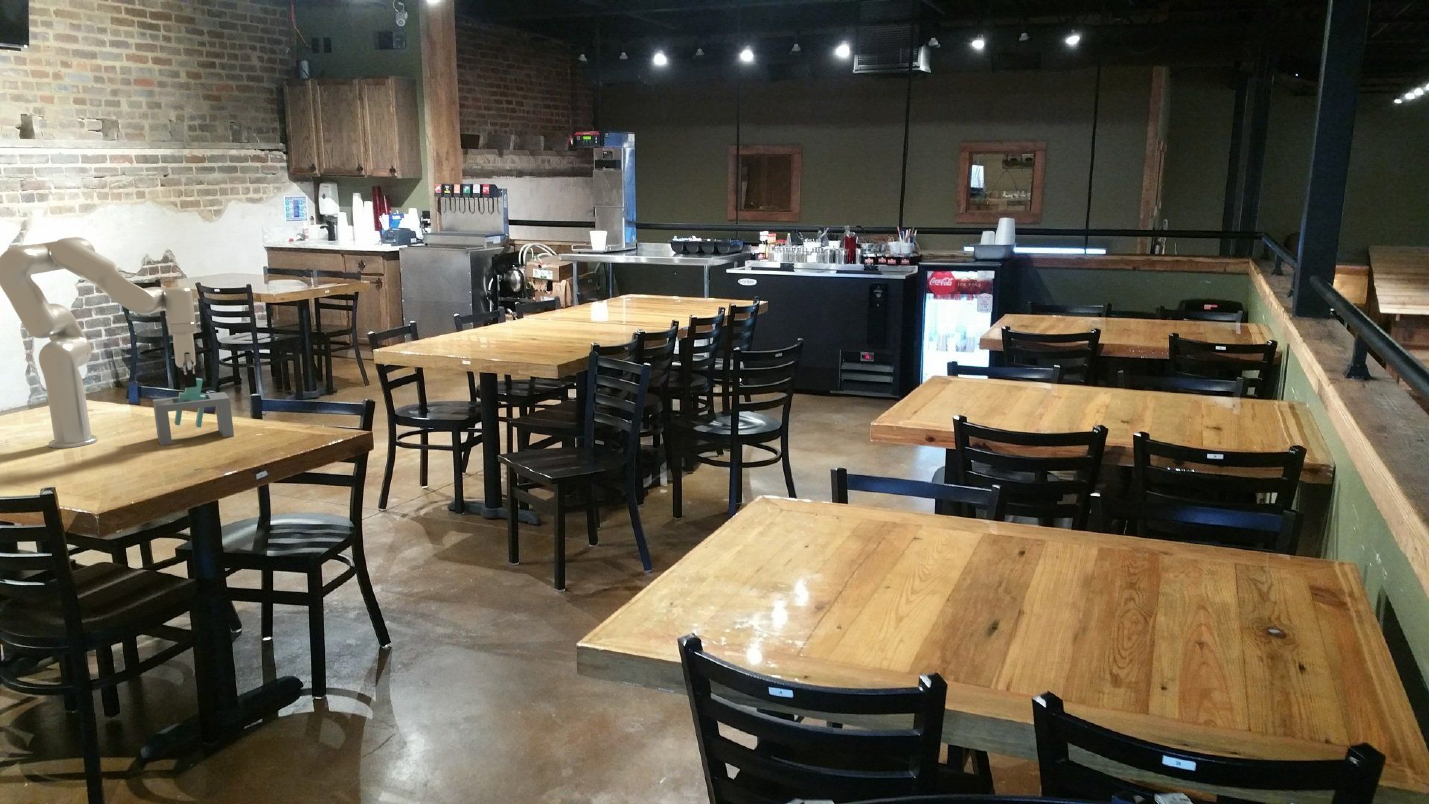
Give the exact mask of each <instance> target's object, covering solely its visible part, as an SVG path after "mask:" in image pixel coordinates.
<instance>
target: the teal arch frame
mask: <svg viewBox="0 0 1429 804" xmlns="http://www.w3.org/2000/svg"><path fill="white" fill-rule="evenodd" d="M203 381H204V380H203V379H202V378H198V377H196V382H197V387H190V388H186V387H185V390H184V392H181V391H180V392H178V396H177V397H178V403H179V402H184V400H192V401H198V400H205V399H206V397H205V395H201V394H202V393H201V391H202V388H203V386H202V385H203ZM204 410H205V407H204V408H197V413H196V420H195V427H196V428H202V424H203V416H204ZM182 413H183V410H178V411H176V412H175V417H174V424H175V426H180V425H181V420H182V416H183V415H182Z"/></svg>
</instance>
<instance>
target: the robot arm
mask: <svg viewBox="0 0 1429 804" xmlns="http://www.w3.org/2000/svg"><path fill="white" fill-rule="evenodd" d="M58 270H60V271H61V270H66V271H69V272H71V273H72V274H74V275H76V276H78V277H80V278H81V279H83V280H85V281H87V282H89V283H90V284H92V285H94V286H95V287H97V288H98V289H99V290H100V291H101V292H102V293H103V294H104V295H106V297H108V298H109V299H110V300H112V301H113V302H115V303H116V304H118V305H120V306H122V307H124V309H127V310H129V311H131V312H133V313H135V314H137V315H142V316H148V315H152V314H155V313H158V312H163V311H165V313H166V319H167V320H166V321H167V329H168V335H170V336H172V342H173V351H174V352H173V353H174V361H175V362H174V363H175V365H176V367H178V368H180V378H181V383H182V384H184V387H185V388H190V387H197V382H196V378H197V376H196V374H197V373H196V371H195V366H196V362H197V361H196V350H195V341H194V334H196V333H198V331H197V330H198V329H197V322H196V314H195V305H194V297H193V291H192V289H191V288H190V287H187V286H175V287H160V286H151V287H150V286H149V287H145V288H142V287H141V286H139V285H136V284H135V283H133V282H132V281H130V280H128V279H126V278H125V277H124V276H123V275H121V273H120V272H119V270H118V266H117V264H116V263H115V262H114V261H112V260H111V259H109V258H107V257H105V256H103V255H102V254H100V253H98V252H96V249H95V247H94V245H93V244H92V243H91V242H90V241H89V240H87V239H86V238H83V237H78V236H73V237H65V238H60V239H57V240H55V241H50V242H43V243H42V242H41V243H34V244H26V245H23V244H22V245H16V246H14V247H13V246H12V247H11V248H8V249H7V250H5V251H4V252H3V253H2V254H0V287H1V289H2V291H3V292H4V294H5V295H6V297H7V299H8V300H9V302H10V304H11V305H12V308H13V309H14V311H15V313H16V314H17V316H18V318H19V320H20V321H21V323H22V325H23V327H24V328H25V330H26V331H27V333H28V334H29V335H30V336H31V337H33V338H35V339H49V340H50V341H49V342H48V343H46V344H44V346H42V348H41V349H40V351H39V353H38V363H39V366H40V369H41V372H42V375H43V380H44V384H45V389H46V395H47V400H48V408H49V413H50V420H51V421H50V422H51V425H52V426H51V427H52V432H53V433H52V434H53V439H52V440H50V441H49V442H48V446H49V447H50V448H53V449H67V448H70V449H71V448H78V447H83V446H88V445H91V444H94V443H97V442H98V441H99V439H98V436H97V435H93V434H92V431H91V426H90V420H89V418H90V417H89V413H88V412H89V411H88V406H87V405H88V404H87V397H86V392H85V385H84V381H83V377H82V375H81V373H80V370H79V367H82V366H84V365H86V364H87V363H88V362H89V361H90V359H91V358H92V354H93V353H92V347H91V344H90V342H89V340H88V338H87V336H86V334H85V332H84V331H83V329H82V328H81V326H80V324H79V322H78V321H77V319H76V317H75V316H74V314H73V313H72V311H71V310H70V309H68V308H67V307H65V305H62V304H59V303H50V302H49V301H48V300H47V297H46V296H45V295H44V293H43V290H42V288H40V286H39V285H38V284H37V283H36V282H35V281H34V280H33V278H32V275H34V274H35V275H36V274H42V273H48V272H52V271H54V272H55V271H58Z"/></svg>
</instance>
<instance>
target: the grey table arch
mask: <svg viewBox="0 0 1429 804" xmlns="http://www.w3.org/2000/svg"><path fill="white" fill-rule="evenodd" d="M200 395H205V397H206V399H205V400H198V401H192V400H184V402H179V403H178V397H179V396H174V397H166V398H165V397H164V398H155V399H152V404H153V412H154V413H153V414H154V420H155V421H154V422H155V427H156V435H157V439H158V442H159V444H160V446H169V445H173V440H172V439H173V438H172V433H171V432H172V431H171V425H170V416H169V412H175V411H178V410H182V411H184V410H185V411H186V410H193V409H198V408H204V409H205V408H212V407H215V413H216V421H217V422H216V423H217V429H218V432H219V433H220V435H221V436H222V437H223V438H224V439H225V438H231V437H232V438H233V437H235V432H234V425H233V424H234V423H233V416H232V415H233V414H232V406H231V398H230V397H229V395H228V394H227V393H226V392H225V391H221V392H212V393H203V394H202V393H201V394H200Z"/></svg>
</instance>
